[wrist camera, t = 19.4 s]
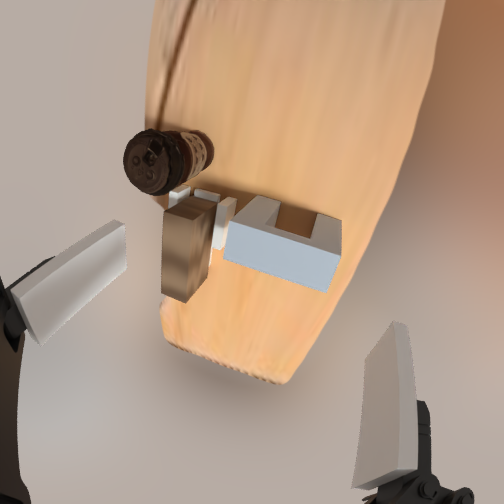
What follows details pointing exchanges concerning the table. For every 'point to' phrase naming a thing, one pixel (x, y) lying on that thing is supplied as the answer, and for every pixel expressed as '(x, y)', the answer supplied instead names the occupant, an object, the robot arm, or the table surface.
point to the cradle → (222, 215)
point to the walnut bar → (186, 246)
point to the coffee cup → (166, 159)
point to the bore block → (284, 245)
